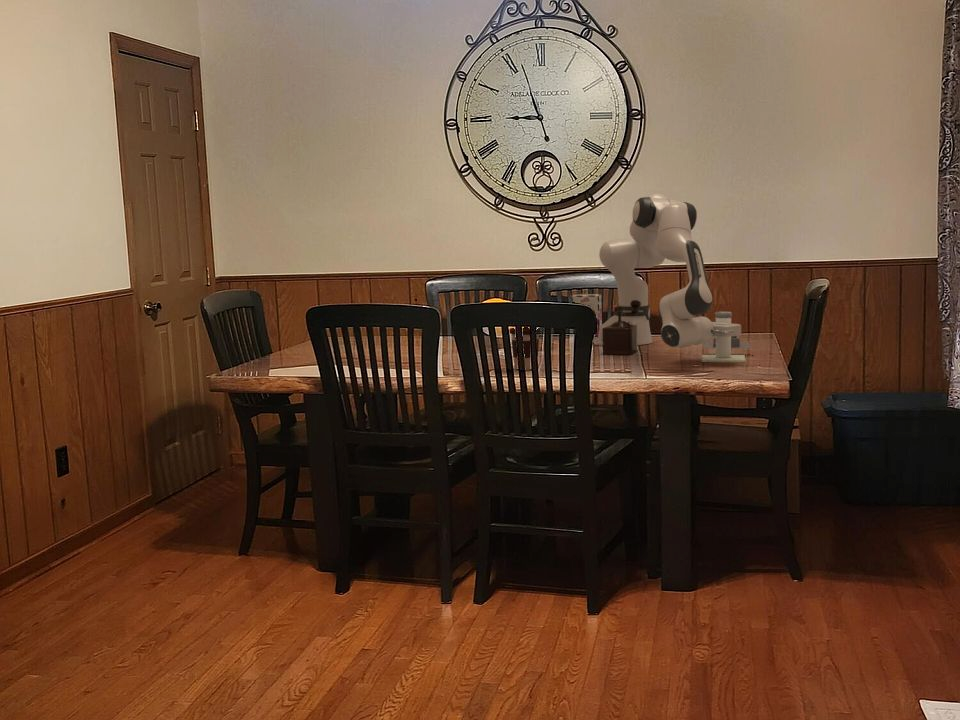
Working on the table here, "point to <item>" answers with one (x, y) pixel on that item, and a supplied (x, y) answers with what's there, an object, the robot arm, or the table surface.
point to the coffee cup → (526, 346)
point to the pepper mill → (621, 334)
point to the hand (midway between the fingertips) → (725, 325)
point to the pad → (732, 359)
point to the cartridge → (723, 342)
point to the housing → (734, 343)
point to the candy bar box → (592, 301)
